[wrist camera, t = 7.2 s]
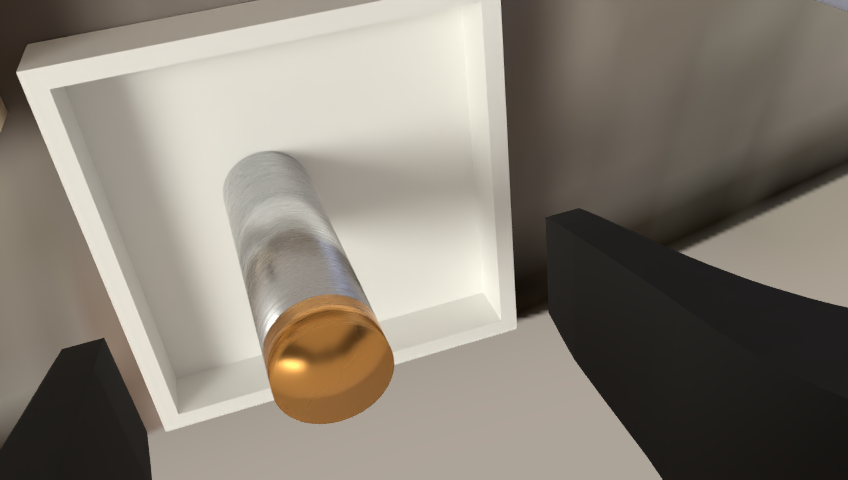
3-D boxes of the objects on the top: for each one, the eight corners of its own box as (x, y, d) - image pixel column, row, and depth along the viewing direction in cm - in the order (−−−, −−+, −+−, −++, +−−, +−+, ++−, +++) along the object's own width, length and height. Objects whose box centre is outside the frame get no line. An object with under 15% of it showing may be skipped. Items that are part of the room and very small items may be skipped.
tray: (470, -41, 20) (499, -23, 18) (493, 293, 26) (516, 328, 25) (27, 44, 18) (15, 72, 16) (164, 386, 24) (166, 431, 22)
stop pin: (297, 139, 21) (380, 306, 14) (319, 213, 22) (405, 396, 16) (210, 167, 20) (254, 351, 14) (238, 241, 22) (291, 441, 15)
